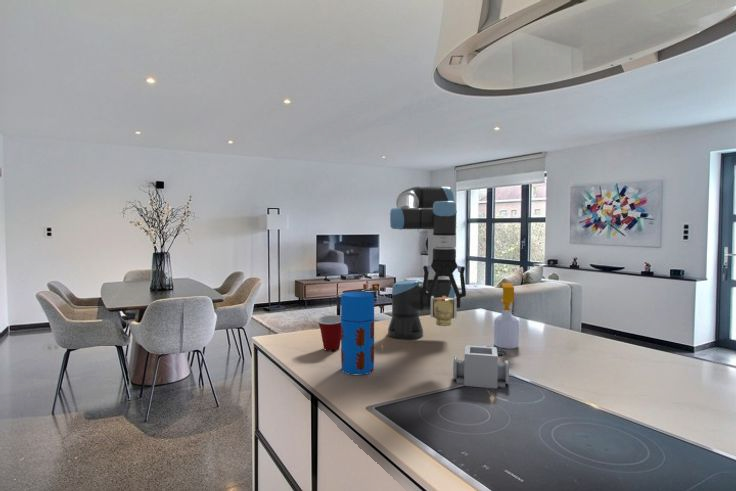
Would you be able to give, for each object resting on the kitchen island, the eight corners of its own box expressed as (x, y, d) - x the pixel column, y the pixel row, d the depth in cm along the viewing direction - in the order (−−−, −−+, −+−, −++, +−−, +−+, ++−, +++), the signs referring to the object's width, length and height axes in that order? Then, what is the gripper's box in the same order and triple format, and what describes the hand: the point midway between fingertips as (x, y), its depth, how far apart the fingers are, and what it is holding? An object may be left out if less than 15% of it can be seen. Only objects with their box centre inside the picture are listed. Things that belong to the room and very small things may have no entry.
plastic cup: (311, 351, 162) (311, 319, 162) (325, 344, 172) (325, 314, 172) (337, 354, 158) (337, 322, 157) (350, 346, 168) (350, 316, 167)
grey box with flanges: (452, 384, 129) (453, 353, 128) (454, 373, 138) (454, 344, 137) (509, 389, 125) (509, 357, 124) (507, 378, 134) (507, 348, 133)
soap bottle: (515, 342, 174) (516, 282, 172) (520, 349, 164) (522, 285, 163) (492, 342, 174) (493, 281, 173) (496, 348, 165) (497, 284, 164)
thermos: (379, 367, 144) (379, 292, 143) (365, 377, 135) (365, 297, 133) (350, 362, 149) (350, 290, 148) (335, 372, 139) (334, 295, 138)
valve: (453, 327, 140) (453, 299, 140) (431, 326, 142) (432, 298, 141) (454, 322, 147) (455, 296, 146) (434, 321, 149) (434, 295, 148)
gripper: (412, 248, 142) (412, 317, 143) (475, 249, 137) (474, 321, 138) (415, 246, 149) (415, 312, 150) (475, 247, 144) (474, 315, 146)
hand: (443, 316), depth 144 cm, fingers closed on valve, 7 cm apart
